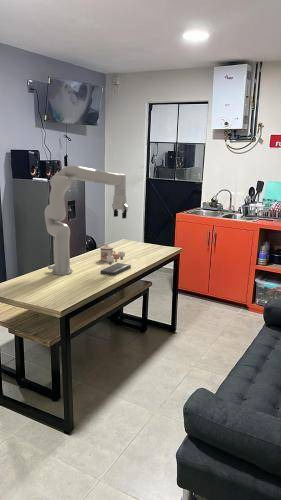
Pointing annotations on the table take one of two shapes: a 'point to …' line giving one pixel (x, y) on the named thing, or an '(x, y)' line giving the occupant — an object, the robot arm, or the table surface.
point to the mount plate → (115, 269)
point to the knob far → (121, 254)
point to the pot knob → (116, 256)
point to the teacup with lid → (106, 252)
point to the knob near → (110, 259)
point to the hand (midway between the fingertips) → (120, 217)
